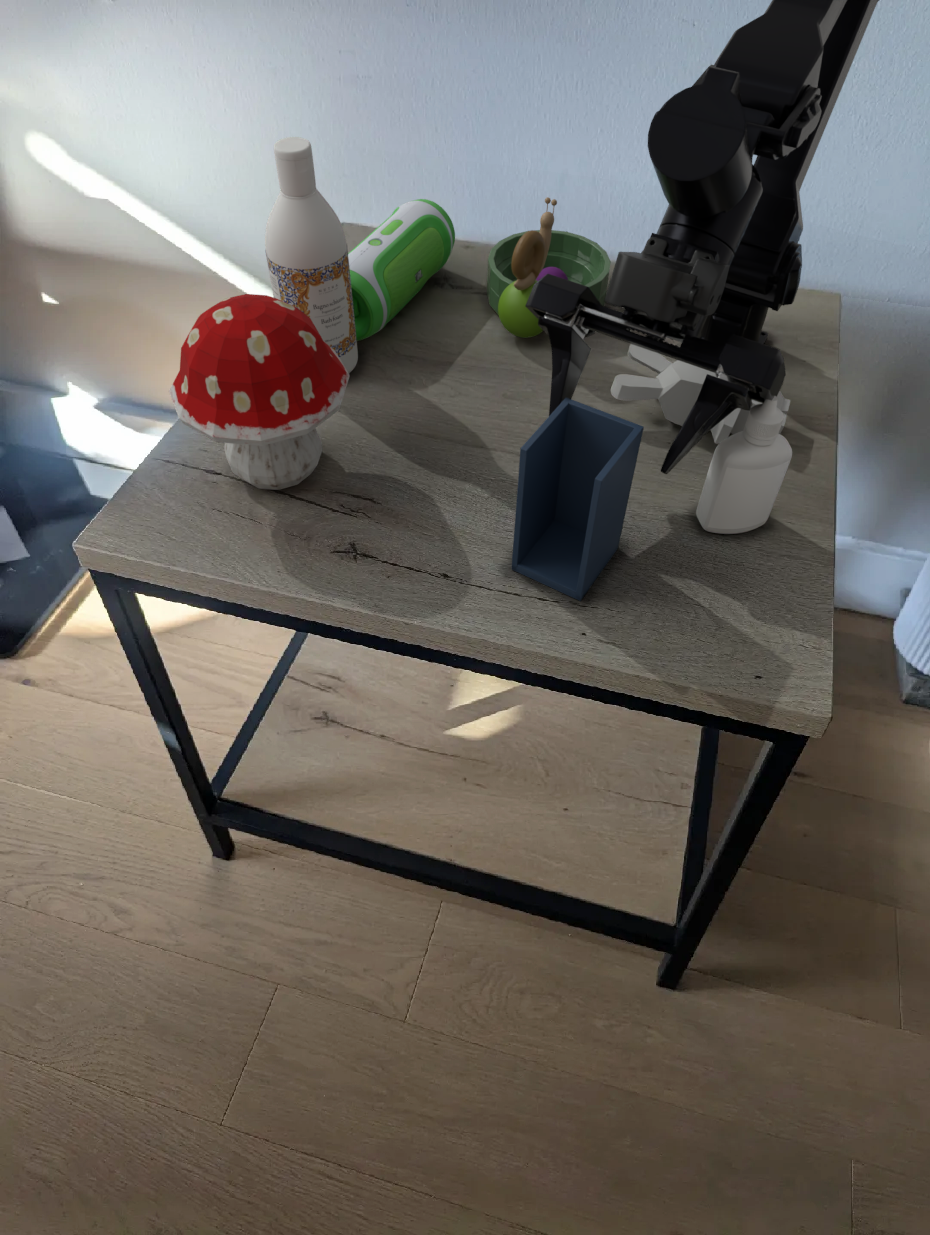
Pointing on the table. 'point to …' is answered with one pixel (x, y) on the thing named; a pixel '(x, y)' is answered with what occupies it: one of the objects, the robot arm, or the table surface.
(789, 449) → the eye dropper bottle
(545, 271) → the ball
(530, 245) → the snail figurine
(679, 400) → the bunny figurine
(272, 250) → the bath foam
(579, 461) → the dark blue rectangular box
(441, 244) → the speaker
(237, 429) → the decorative mushroom
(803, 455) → the table surface
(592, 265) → the bowl
